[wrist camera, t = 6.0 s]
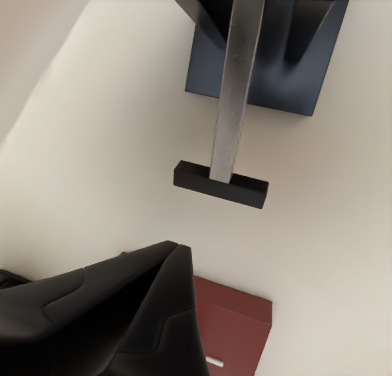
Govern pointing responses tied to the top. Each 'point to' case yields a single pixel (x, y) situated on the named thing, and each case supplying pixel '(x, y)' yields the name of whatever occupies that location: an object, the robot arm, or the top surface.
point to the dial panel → (231, 328)
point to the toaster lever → (231, 114)
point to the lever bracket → (268, 50)
